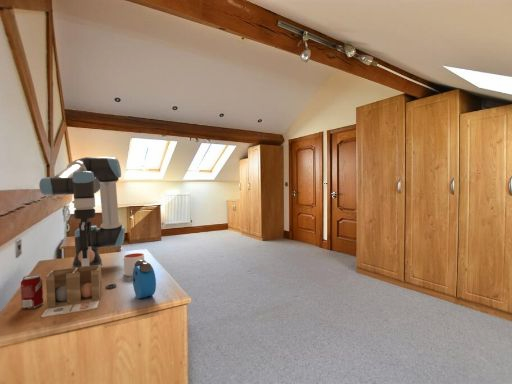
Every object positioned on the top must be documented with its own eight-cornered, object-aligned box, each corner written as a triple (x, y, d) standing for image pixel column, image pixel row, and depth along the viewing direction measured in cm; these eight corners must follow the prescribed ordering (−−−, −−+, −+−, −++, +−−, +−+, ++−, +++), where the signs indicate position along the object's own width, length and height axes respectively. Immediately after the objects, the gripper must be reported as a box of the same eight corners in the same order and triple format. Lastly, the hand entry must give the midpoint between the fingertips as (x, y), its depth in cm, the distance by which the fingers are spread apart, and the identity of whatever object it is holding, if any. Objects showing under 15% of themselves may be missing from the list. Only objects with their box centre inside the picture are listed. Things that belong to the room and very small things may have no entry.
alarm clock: (156, 299, 118) (155, 263, 117) (141, 303, 114) (140, 266, 114) (146, 290, 128) (145, 257, 128) (132, 294, 124) (131, 259, 124)
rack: (53, 300, 119) (52, 270, 119) (101, 293, 126) (100, 264, 126) (47, 308, 111) (45, 276, 110) (99, 300, 118) (98, 270, 117)
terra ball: (95, 260, 124) (95, 246, 123) (94, 264, 118) (93, 249, 118) (79, 262, 121) (79, 248, 121) (77, 266, 116) (76, 251, 116)
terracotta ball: (81, 295, 122) (80, 282, 122) (97, 293, 124) (96, 279, 124) (78, 301, 116) (78, 286, 116) (95, 298, 119) (94, 284, 118)
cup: (131, 278, 146) (131, 258, 146) (120, 275, 151) (119, 256, 151) (148, 272, 154) (147, 254, 154) (136, 270, 160) (136, 252, 159)
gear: (106, 286, 134) (106, 284, 134) (116, 285, 136) (116, 283, 136) (105, 289, 130) (105, 287, 130) (115, 288, 132) (115, 286, 132)
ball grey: (57, 299, 118) (56, 285, 118) (74, 297, 121) (73, 282, 121) (53, 305, 113) (52, 290, 113) (71, 302, 115) (70, 287, 115)
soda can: (31, 310, 110) (30, 279, 109) (17, 309, 111) (15, 278, 111) (47, 303, 116) (46, 274, 116) (34, 302, 118) (32, 273, 117)
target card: (46, 309, 110) (46, 308, 110) (99, 301, 117) (99, 300, 117) (40, 317, 104) (40, 315, 104) (96, 308, 110) (96, 306, 110)
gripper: (78, 207, 126) (80, 259, 127) (69, 210, 109) (71, 271, 110) (97, 206, 129) (99, 257, 130) (91, 209, 112) (94, 268, 112)
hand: (86, 263), depth 120 cm, fingers closed on terra ball, 6 cm apart
